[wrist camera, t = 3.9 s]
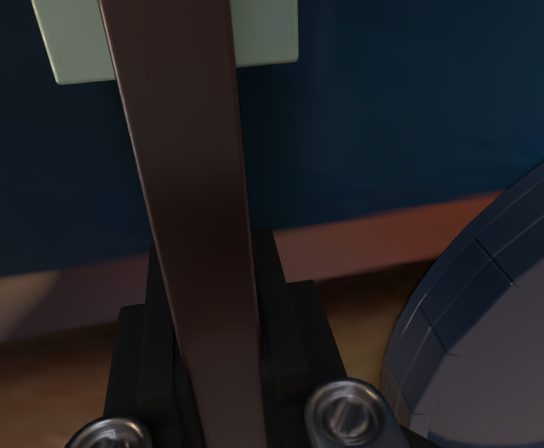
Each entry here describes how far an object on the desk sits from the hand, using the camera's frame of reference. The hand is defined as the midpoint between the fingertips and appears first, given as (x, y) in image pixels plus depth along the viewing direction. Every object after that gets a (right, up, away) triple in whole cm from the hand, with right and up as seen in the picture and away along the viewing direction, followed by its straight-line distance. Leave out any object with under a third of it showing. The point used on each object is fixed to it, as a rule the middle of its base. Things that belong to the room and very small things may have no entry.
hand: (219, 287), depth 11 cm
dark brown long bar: (0, -1, -2) cm, 2 cm away
